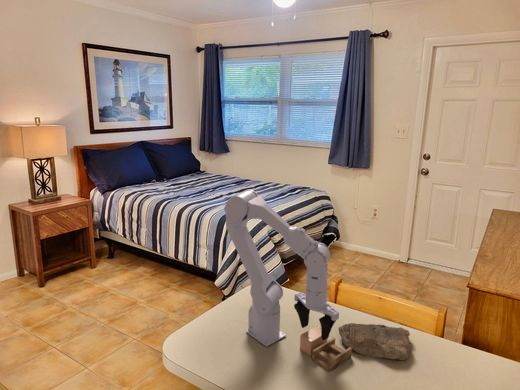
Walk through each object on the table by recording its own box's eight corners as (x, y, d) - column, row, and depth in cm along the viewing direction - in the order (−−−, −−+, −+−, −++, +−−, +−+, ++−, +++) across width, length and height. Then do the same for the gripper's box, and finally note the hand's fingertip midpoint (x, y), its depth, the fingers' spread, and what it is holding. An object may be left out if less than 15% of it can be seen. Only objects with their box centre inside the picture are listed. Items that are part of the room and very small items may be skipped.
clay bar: (310, 355, 105) (311, 341, 103) (299, 348, 108) (300, 334, 106) (327, 345, 109) (327, 332, 108) (316, 339, 112) (317, 325, 111)
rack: (329, 371, 98) (330, 362, 98) (311, 359, 103) (312, 350, 102) (351, 357, 104) (351, 348, 103) (333, 346, 108) (333, 337, 108)
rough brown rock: (334, 352, 107) (411, 366, 100) (335, 336, 106) (412, 350, 99) (340, 326, 120) (408, 337, 113) (341, 312, 119) (410, 323, 112)
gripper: (347, 293, 101) (344, 338, 104) (306, 275, 112) (305, 316, 115) (330, 302, 97) (327, 348, 100) (289, 282, 107) (288, 325, 110)
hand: (314, 332), depth 107 cm, fingers open, 7 cm apart
